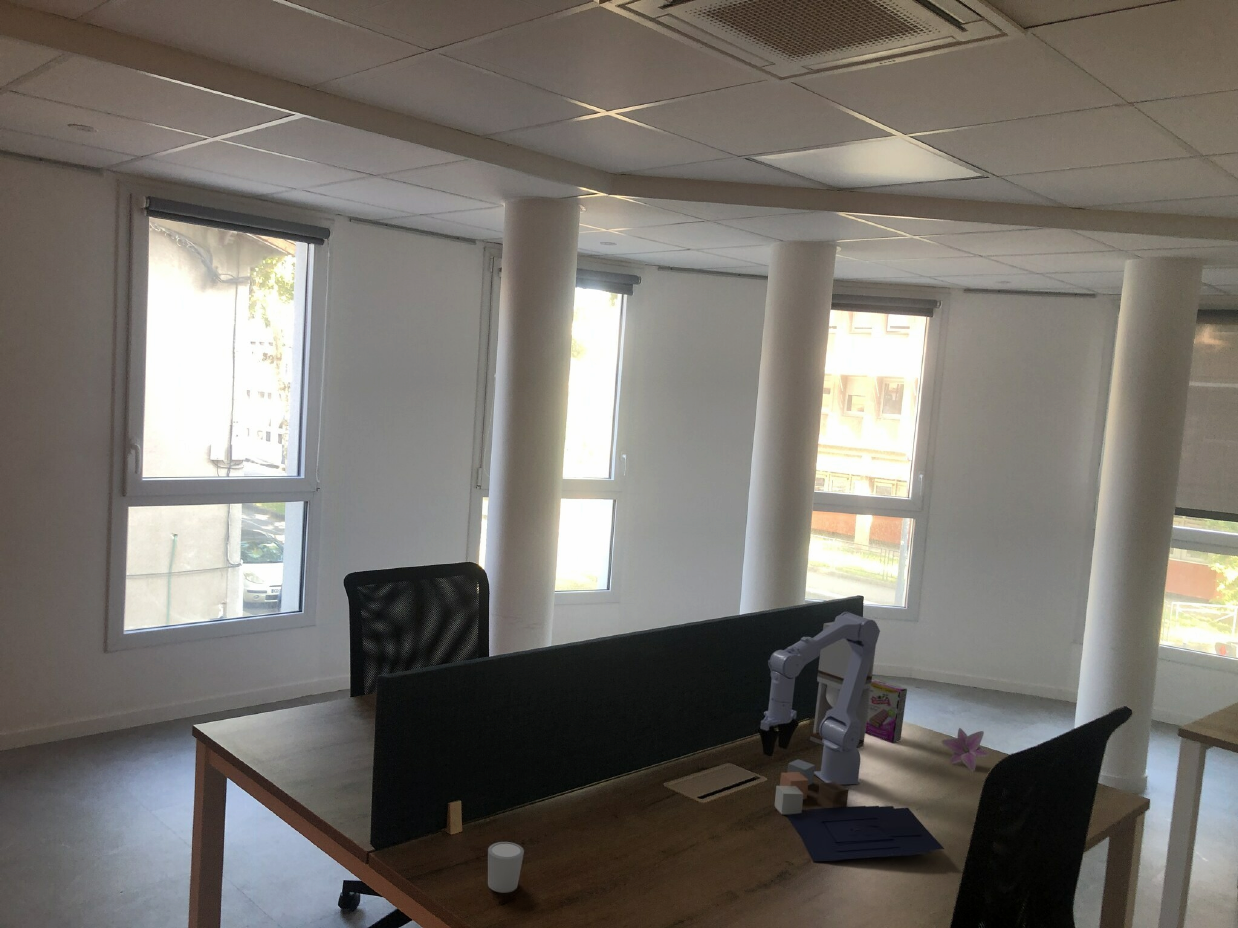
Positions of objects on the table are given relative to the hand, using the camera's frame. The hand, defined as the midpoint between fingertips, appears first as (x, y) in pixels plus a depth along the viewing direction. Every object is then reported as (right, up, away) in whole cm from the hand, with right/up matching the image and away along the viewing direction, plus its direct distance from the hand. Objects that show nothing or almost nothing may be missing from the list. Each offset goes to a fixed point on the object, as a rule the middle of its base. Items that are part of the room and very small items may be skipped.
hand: (775, 751), depth 240 cm
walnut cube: (+13, -12, -5) cm, 18 cm away
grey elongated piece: (+25, -10, +40) cm, 48 cm away
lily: (+60, -14, +34) cm, 70 cm away
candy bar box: (+40, -11, +50) cm, 65 cm away
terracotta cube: (+4, -11, -1) cm, 12 cm away
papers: (+16, -14, -22) cm, 31 cm away
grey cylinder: (-62, -9, -57) cm, 85 cm away
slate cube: (+7, -11, +8) cm, 15 cm away
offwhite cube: (+1, -11, -11) cm, 15 cm away
